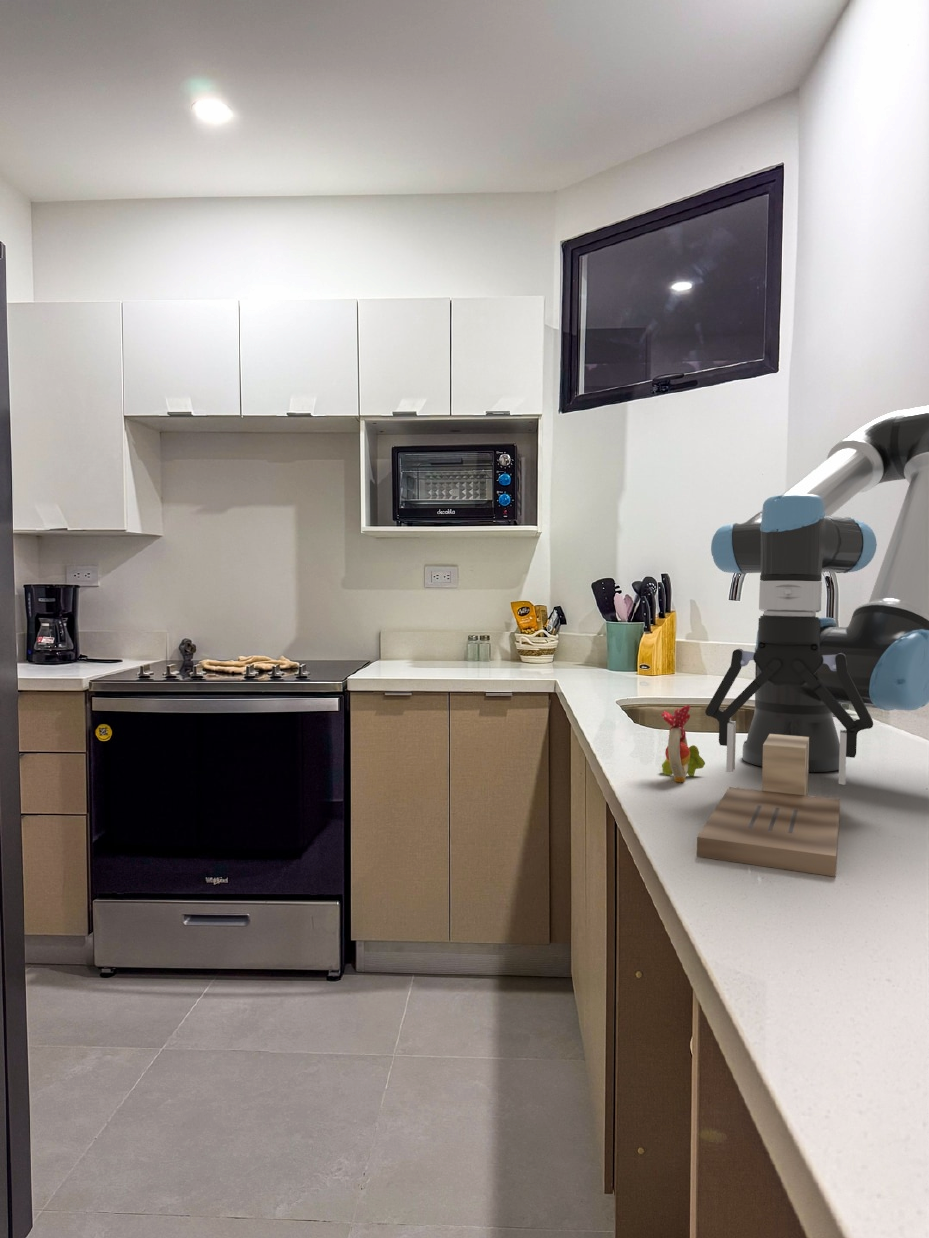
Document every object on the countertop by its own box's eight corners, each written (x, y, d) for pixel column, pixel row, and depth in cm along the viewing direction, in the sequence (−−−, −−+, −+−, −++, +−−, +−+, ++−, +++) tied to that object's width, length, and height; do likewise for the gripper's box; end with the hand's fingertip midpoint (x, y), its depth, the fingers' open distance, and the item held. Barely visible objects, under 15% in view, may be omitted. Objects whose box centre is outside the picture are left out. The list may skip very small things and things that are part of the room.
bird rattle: (702, 798, 114) (706, 761, 122) (700, 732, 110) (704, 698, 117) (657, 794, 116) (664, 758, 124) (654, 730, 112) (661, 697, 120)
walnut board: (729, 802, 104) (729, 786, 104) (839, 815, 98) (839, 798, 98) (696, 856, 82) (697, 836, 82) (835, 876, 77) (836, 855, 77)
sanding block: (768, 791, 110) (769, 733, 110) (807, 795, 108) (809, 736, 108) (761, 806, 102) (763, 744, 102) (804, 811, 100) (805, 748, 100)
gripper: (686, 612, 106) (682, 770, 107) (899, 617, 96) (893, 793, 96) (696, 611, 113) (692, 760, 114) (896, 616, 102) (890, 781, 103)
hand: (784, 776), depth 105 cm, fingers open, 13 cm apart
